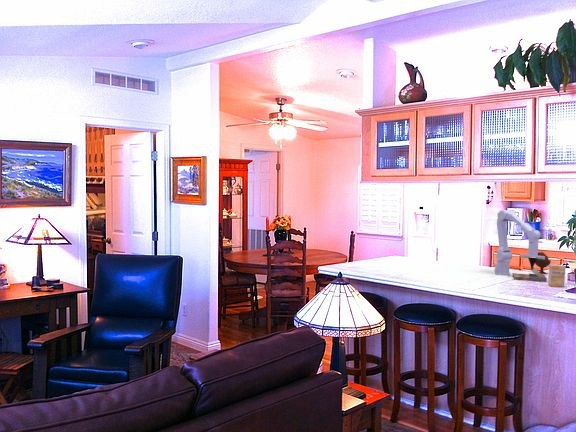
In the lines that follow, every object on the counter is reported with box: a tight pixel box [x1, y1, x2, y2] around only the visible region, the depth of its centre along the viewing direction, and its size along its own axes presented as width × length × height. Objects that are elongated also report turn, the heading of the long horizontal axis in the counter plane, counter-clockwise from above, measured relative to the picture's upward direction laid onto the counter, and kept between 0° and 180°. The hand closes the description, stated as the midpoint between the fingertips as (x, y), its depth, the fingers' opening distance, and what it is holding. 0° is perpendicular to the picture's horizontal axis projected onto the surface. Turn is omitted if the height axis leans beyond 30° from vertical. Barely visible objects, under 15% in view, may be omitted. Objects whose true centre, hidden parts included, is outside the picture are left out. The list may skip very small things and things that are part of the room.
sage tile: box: [530, 266, 540, 275], centre depth 371 cm, size 4×4×2 cm
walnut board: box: [511, 273, 532, 282], centre depth 373 cm, size 10×14×2 cm
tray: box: [528, 273, 548, 283], centre depth 371 cm, size 9×15×2 cm, turn 163°
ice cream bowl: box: [534, 251, 552, 275], centre depth 396 cm, size 11×11×15 cm
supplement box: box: [547, 264, 566, 288], centre depth 348 cm, size 8×5×13 cm, turn 82°
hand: (531, 269), depth 371 cm, fingers closed, pressing on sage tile
